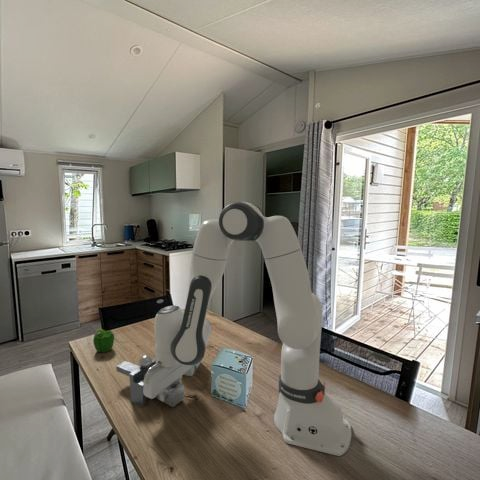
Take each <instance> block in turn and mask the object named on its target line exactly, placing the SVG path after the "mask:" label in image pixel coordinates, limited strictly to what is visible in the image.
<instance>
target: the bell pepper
mask: <svg viewBox="0 0 480 480" xmlns="http://www.w3.org/2000/svg"><path fill="white" fill-rule="evenodd" d="M96 332H97V333H95V334H94V335H93V341H92V342H93V346H94V349H95V350H96V351H97V352H98V353H102V352H103V353H107V352H110V351H112V349H113V346H114V343H115V335H114V333H113V331H112V330H111V329H110V330H104V329H101V328H100V329H99V328H98V329H97V330H96Z"/></svg>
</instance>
